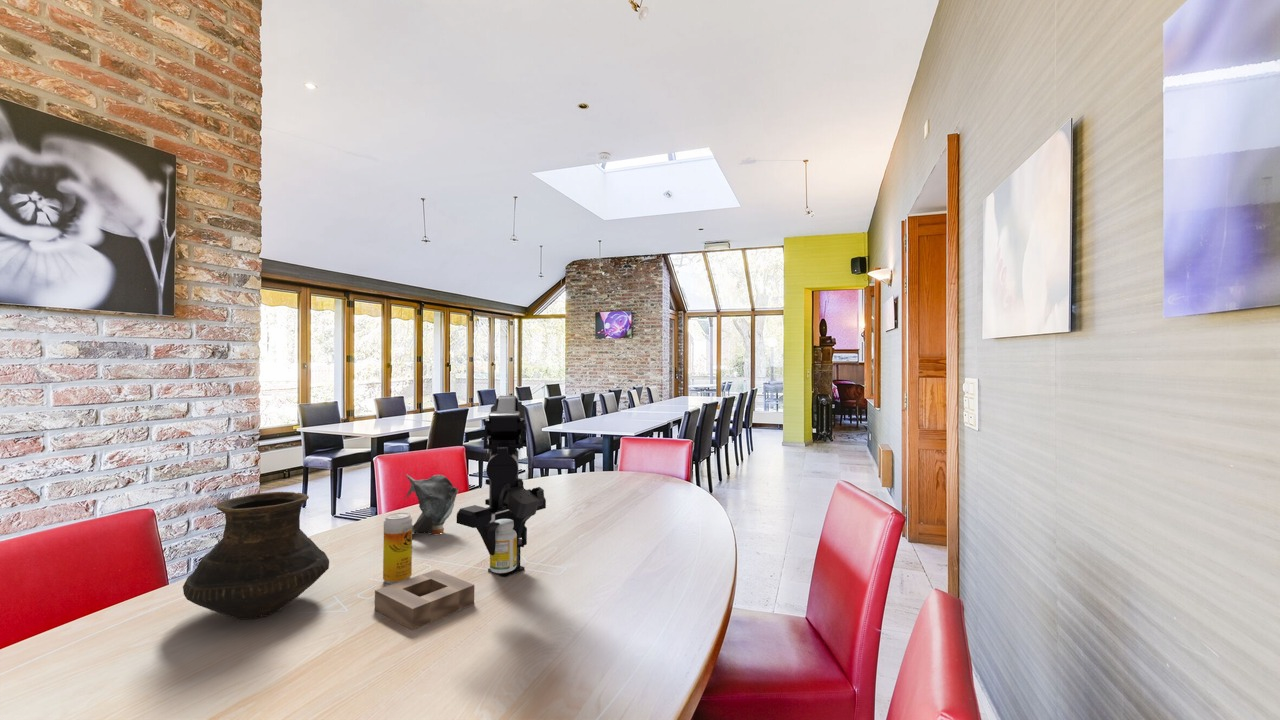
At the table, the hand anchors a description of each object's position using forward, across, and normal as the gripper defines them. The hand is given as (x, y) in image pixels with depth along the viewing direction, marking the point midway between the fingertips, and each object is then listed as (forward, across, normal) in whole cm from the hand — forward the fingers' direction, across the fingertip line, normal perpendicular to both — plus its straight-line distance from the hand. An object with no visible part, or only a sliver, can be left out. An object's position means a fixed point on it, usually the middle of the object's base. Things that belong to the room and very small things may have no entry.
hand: (503, 550), depth 108 cm
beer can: (+13, -4, +33) cm, 36 cm away
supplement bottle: (+4, 0, 0) cm, 4 cm away
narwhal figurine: (+13, +20, +58) cm, 62 cm away
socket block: (+13, -8, +15) cm, 21 cm away
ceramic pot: (+13, -29, +41) cm, 52 cm away
